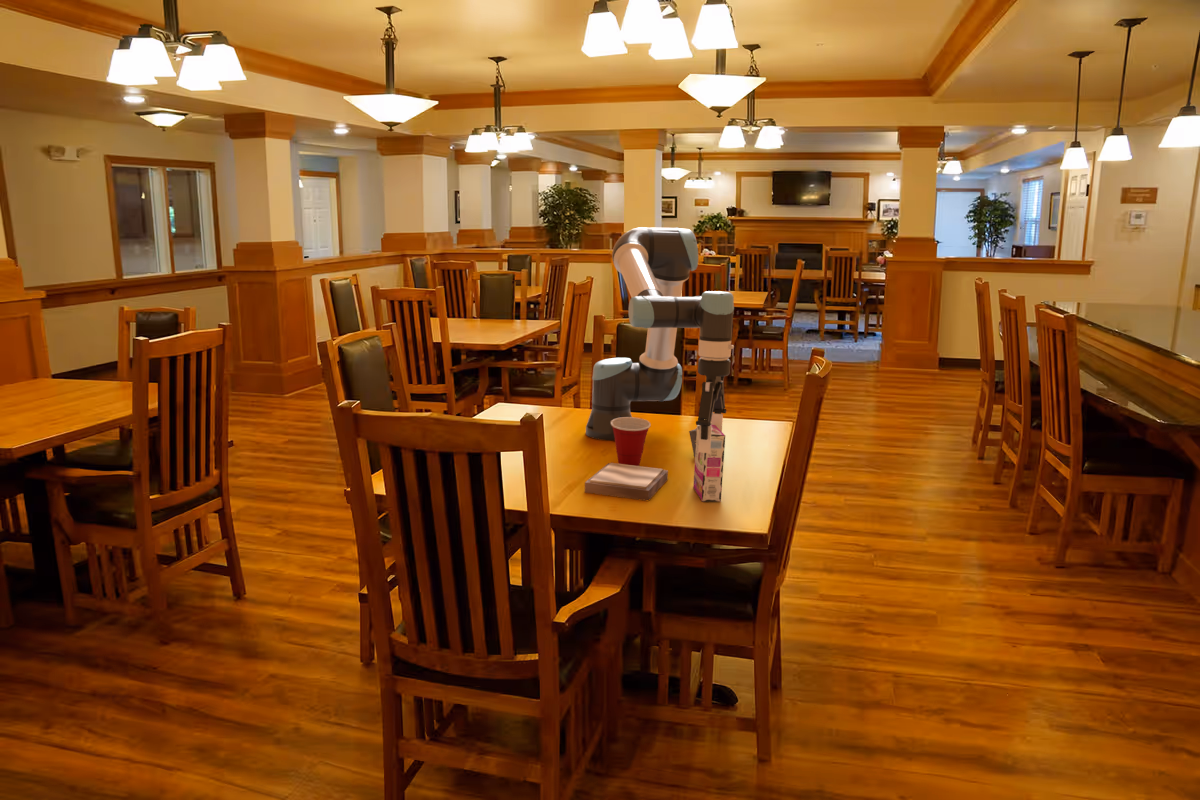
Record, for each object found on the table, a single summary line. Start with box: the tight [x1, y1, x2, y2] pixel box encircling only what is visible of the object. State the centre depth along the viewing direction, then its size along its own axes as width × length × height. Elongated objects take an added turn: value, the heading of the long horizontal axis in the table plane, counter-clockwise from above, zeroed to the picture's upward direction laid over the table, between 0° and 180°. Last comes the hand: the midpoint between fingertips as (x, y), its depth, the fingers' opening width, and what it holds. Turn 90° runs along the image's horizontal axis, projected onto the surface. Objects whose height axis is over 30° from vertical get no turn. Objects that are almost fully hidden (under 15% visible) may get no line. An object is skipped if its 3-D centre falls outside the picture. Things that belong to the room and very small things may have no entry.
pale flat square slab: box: [584, 462, 669, 501], centre depth 211 cm, size 18×16×3 cm
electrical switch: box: [688, 427, 697, 457], centre depth 240 cm, size 9×5×9 cm, turn 141°
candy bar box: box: [692, 425, 726, 503], centre depth 205 cm, size 11×5×16 cm, turn 5°
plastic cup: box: [611, 416, 651, 466], centre depth 229 cm, size 11×11×12 cm
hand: (710, 445), depth 203 cm, fingers open, 13 cm apart
